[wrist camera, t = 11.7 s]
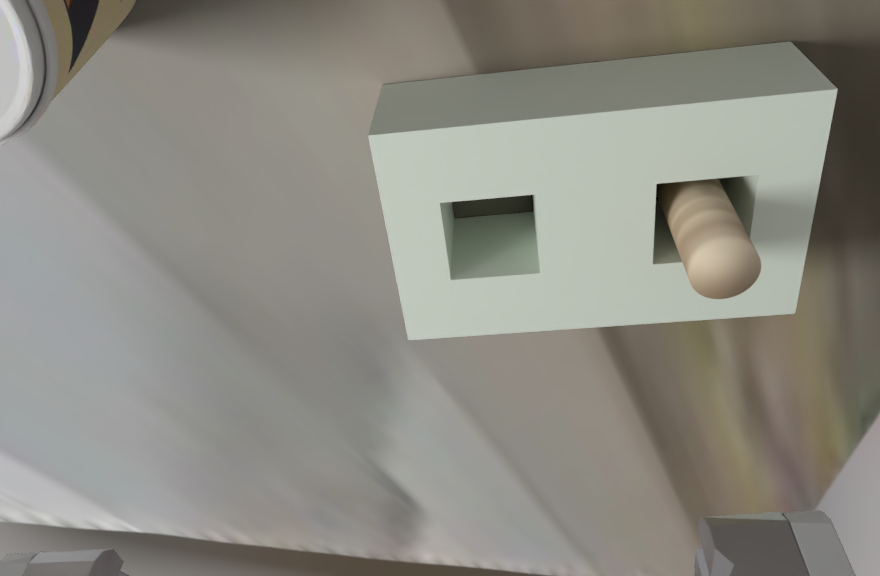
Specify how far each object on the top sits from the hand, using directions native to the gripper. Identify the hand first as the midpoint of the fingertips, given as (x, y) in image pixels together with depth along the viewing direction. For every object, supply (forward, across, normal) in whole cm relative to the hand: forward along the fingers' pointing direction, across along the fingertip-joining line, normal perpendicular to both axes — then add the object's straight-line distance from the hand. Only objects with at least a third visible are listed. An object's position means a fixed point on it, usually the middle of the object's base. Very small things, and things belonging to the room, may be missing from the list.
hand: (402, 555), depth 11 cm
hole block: (+30, -6, +12) cm, 33 cm away
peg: (+30, -11, +12) cm, 34 cm away
